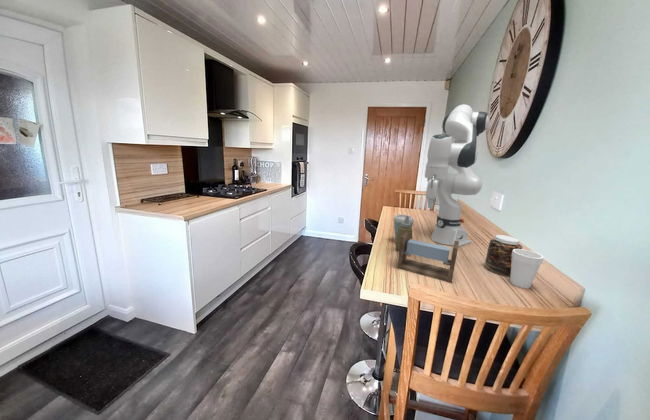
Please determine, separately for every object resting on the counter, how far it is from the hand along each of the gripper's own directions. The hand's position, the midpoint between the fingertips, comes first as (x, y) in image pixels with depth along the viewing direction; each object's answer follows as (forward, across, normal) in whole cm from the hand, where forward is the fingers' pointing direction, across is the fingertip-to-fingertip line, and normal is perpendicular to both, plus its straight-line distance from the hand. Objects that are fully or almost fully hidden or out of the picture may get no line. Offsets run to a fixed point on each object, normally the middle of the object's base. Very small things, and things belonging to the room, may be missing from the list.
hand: (431, 205), depth 110 cm
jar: (+27, +10, -31) cm, 42 cm away
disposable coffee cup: (+27, +18, +15) cm, 36 cm away
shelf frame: (+26, -11, -2) cm, 28 cm away
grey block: (+19, -11, -2) cm, 22 cm away
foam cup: (+27, -1, -36) cm, 45 cm away
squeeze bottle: (+27, +6, +11) cm, 30 cm away
